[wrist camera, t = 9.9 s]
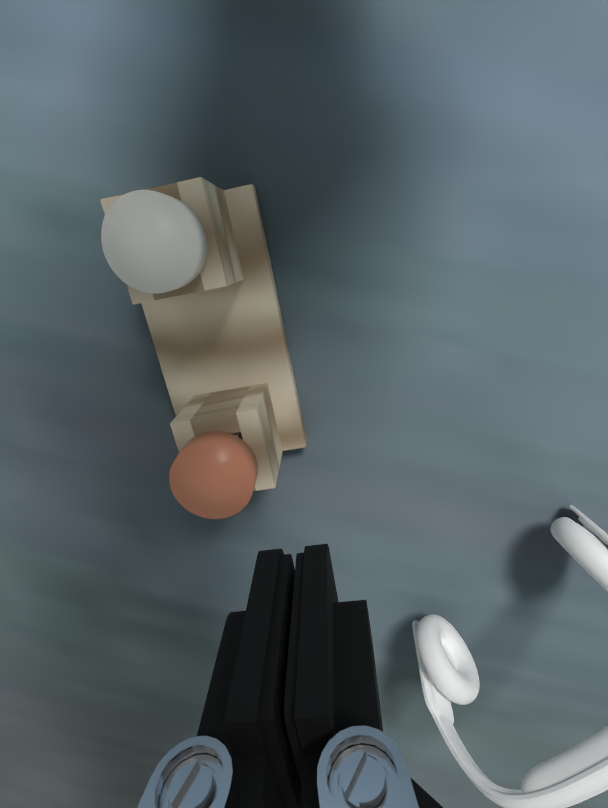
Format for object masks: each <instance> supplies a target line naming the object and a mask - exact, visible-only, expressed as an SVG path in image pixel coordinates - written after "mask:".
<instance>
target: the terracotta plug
mask: <svg viewBox="0 0 608 808" xmlns="http://www.w3.org/2000/svg"><path fill="white" fill-rule="evenodd" d="M257 476H258V463H257V459H256V456H255V454H254V452H253V451H252V449H251V448H250V447H249V446H248V444H247V443H245V442H244V441H243V438H242V434H241V432H237V433H227V432H223V431H208V432H203V433H201V434H198V435H196V436H194V437H193V438H192V439H190V440H189V441H188V442H187V443H186V445H185V446H184V447H183V449H182V450H181V452H180V453H179V455H178V456H177V457H176V459H175V460H174V462H173V464H172V466H171V469H170V473H169V483H170V487H171V490H172V493H173V495H174V497H175V498H176V500H177V501H178V502H179V503H180V504H181V506H183V507H184V508H185V509H186V510H188V511H189V512H191V513H193V514H195V515H197V516H200V517H203V518H208V519H223V518H227V517H230V516H233V515H235V514H237V513H238V512H240V511H241V510H242V509H244V508H245V506H246V505H247V504H248V502H249V501H250V499H251V497H252V493H253V490H254V487H255V483H256V480H257Z"/></svg>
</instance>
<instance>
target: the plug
mask: <svg viewBox="0 0 608 808" xmlns="http://www.w3.org/2000/svg"><path fill="white" fill-rule="evenodd" d="M101 242H102V248H103V252H104V255H105V258H106V260H107V262H108V264H109V266H110V267H111V269H112V270H113V272H114V273H115V274H116V275H117V276H118V277H119V278H120V279H121V280H122V281H123V282H124V283H126V284H127V285H129V286H130V287H132V288H134V289H136V290H139V291H142V292H145V293H152V294H158V293H165V292H168V291H172V290H176V289H179V288H182V287H184V286H186V285H188V284H189V283H191V282H192V281H193V280H194V279H195V278H196V277H197V276H198V275H199V273H200V272H201V270H202V268H203V266H204V263H205V260H206V255H207V239H206V234H205V231H204V228H203V226H202V224H201V222H200V220H199V218H198V217H197V215H196V214H195V213H194V211H193V210H192V209H191V208H190V207H189V206H187V205H186V204H185V203H183V202H182V201H180V200H179V199H176V198H174V197H172V196H169V195H166V194H163V193H160V192H156V191H152V190H136V191H132V192H128V193H126V194H124V195H122V196H121V197H119V198H118V199H117V200H116V201H115V202H114V203H113V204H112V205H111V206H110V207H109V209H108V211H107V213H106V214H105V217H104V220H103V223H102V229H101Z"/></svg>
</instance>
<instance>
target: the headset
mask: <svg viewBox="0 0 608 808" xmlns="http://www.w3.org/2000/svg"><path fill="white" fill-rule="evenodd" d="M569 507H570V508H571V509H572V510H573V511H574V512H575V513H576V514H577V515H578V516H579V518H578V520H579V521H580V522H581V523H582V524H583V525H584V526H585V527H586V528H588V529H589V530H590V531H591V532H592V533H593V534H594V535H595V536H596V537H597V538H596V537H595V536H594V535H592V534H591V533H590V532H588V531H587V530H586V529H584V528H583V527H582V526H580V525H579V524H577V523H575V522H574V521H573V520H571V519H570V518H567V517H561V518H558V519H556V520H555V521H554V522H553V523H552V525H551V528H550V530H551V534H552V535H553V537H554V538H555V539H556V540H557V541H558V543H559V544H560V545H561V546H562V547H563V548H564V549H565V550H566V551H567V552H568V553H569V554H570V555H571V556H572V557H573V558H574V559H575V560H576V561H577V562H578V563H579V564H580V565H581V566H582V567H583V568H584V569H585V570H586V571H587V572H588V573H589V574H590V575H591V576H592V577H593V578H594V579H595V580H596V581H597V582H598V583H599V584H600V585H601V586H602V587H603V588H604V589H606V590H607V591H608V534H607V533H606V532H604V531H603V530H602V529H601V528H600V527H598V526H597V525H596V524H595V523H594V522H592V521H591V520H590V519H589V518H588V517H586V516H585V515H584V514H583V513H582V512H580V511H579V510H578V509H577V508H576V507H574V506H573V505H572V504H571V505H570V506H569ZM412 628H413V635H414V641H415V647H416V653H417V659H418V665H419V671H420V677H421V683H422V689H423V694H424V698H425V702H426V704H427V707H428V709H429V710H430V712H431V714H432V716H433V718H434V720H435V722H436V724H437V726H438V728H439V730H440V732H441V734H442V736H443V738H444V740H445V742H446V744H447V746H448V747H449V749H450V751H451V752H452V754H453V756H454V757H455V759H456V760H457V762H458V763H459V765H460V766H461V767H462V769H463V770H464V772H465V773H466V775H467V776H468V777H469V779H470V780H471V781H472V782H473V784H474V785H475V786H476V787H477V788H478V789H479V790H480V791H481V792H482V793H483V794H484V795H485V796H486V797H488V798H489V799H490V800H492V801H493V802H495V803H496V804H498V805H500V806H502V807H504V808H566V807H569V806H572V805H575V804H577V803H580V802H582V801H584V800H587V799H589V798H591V797H593V796H595V795H597V794H600V793H602V792H604V791H606V790H608V725H607V726H606V727H604V728H603V729H601V730H599V731H598V732H596V733H595V734H593V735H591V736H590V737H588V738H586V739H585V740H583V741H581V742H580V743H578V744H576V745H575V746H573V747H571V748H569V749H567V750H566V751H564V752H562V753H560V754H558V755H556V756H554V757H552V758H550V759H548V760H546V761H544V762H542V763H540V764H538V765H537V766H535V767H533V768H532V769H531V770H529V771H528V772H527V774H526V775H525V776H524V778H523V781H522V785H521V790H512V789H507V788H503V787H501V786H498V785H496V784H494V783H493V782H492V781H490V780H489V779H488V778H487V777H486V776H485V774H484V773H483V772H482V771H481V770H480V769H479V767H478V766H477V765H476V763H475V762H474V761H473V759H472V758H471V756H470V755H469V753H468V751H467V750H466V748H465V747H464V745H463V743H462V741H461V740H460V738H459V736H458V734H457V732H456V730H455V728H454V726H453V723H454V717H453V711H452V706H451V702H450V700H451V701H452V702H454V703H456V704H460V705H467V704H469V703H471V702H472V701H474V700H475V698H476V697H477V695H478V692H479V676H478V672H477V668H476V665H475V662H474V660H473V658H472V655H471V653H470V651H469V649H468V647H467V646H466V644H465V642H464V641H463V639H462V638H461V636H460V635H459V633H458V632H457V631H456V630H455V628H454V627H453V626H452V625H451V624H450V623H449V622H448V621H447V620H445V619H444V618H442V617H441V616H438V615H435V614H430V615H427V616H424V617H423V618H422V619H421V620H420V621H417V620H414V621H413V623H412Z"/></svg>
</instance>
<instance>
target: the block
mask: <svg viewBox="0 0 608 808" xmlns="http://www.w3.org/2000/svg"><path fill="white" fill-rule="evenodd" d="M144 190H152V191H156V192H160V193H163V194H166V195H169V196H172V197H174V198H176V199H179V200H180V201H182V202H183V203H185V204H186V205H187V206H189V207H190V208H191V209H192V210H193V211H194V213H195V214H196V215H197V217H198V218H199V220H200V222H201V224H202V226H203V228H204V231H205V234H206V239H207V255H206V260H205V263H204V266H203V268H202V270H201V272H200V273H199V275H198V276H197V277H196V278H195V279H194V280H193V281H192V282H191V283H189V284H188V285H186V286H184V287H182V288H179V289H176V290H172V291H168V292H165V293H158V294H152V293H145V292H142V291H139V290H136V289H134V288H132V287H130V286H129V285H127V288H128V291H129V294H130V297H131V300H132V304H133V305H134V304H139V303H141V304H142V307H143V310H144V314H145V317H146V320H147V323H148V327H149V330H150V333H151V337H152V340H153V343H154V346H155V350H156V353H157V356H158V359H159V363H160V366H161V369H162V373H163V376H164V379H165V382H166V386H167V389H168V392H169V395H170V399H171V402H172V405H173V409H174V412H175V415H176V417H175V418H174V420H173V421H172V422H171V423H170V425H171V429H172V432H173V435H174V438H175V441H176V445H177V448H178V451H179V453H180V452H181V450H182V449H183V447H184V446H185V445H186V443H187V442H188V441H189V440H190V439H192V438H193V437H194V436H196V435H198V434H201V433H203V432H208V431H223V432H227V433H237V432H241V434H242V438H243V441H244V442H245V443H247V444H248V446H249V447H250V448H251V449H252V451H253V452H254V454H255V456H256V459H257V463H258V476H257V480H256V483H255V487H254V490H253V491H259V490H266V489H272V488H275V487H276V482H277V477H278V472H279V467H280V462H281V457H282V452H283V451H285V450H292V449H298V448H305V447H306V445H307V438H306V433H305V428H304V423H303V418H302V413H301V408H300V403H299V399H298V394H297V389H296V384H295V379H294V374H293V369H292V364H291V359H290V355H289V350H288V345H287V340H286V335H285V330H284V325H283V320H282V315H281V311H280V306H279V301H278V296H277V291H276V286H275V281H274V276H273V272H272V267H271V262H270V257H269V252H268V247H267V242H266V237H265V232H264V228H263V223H262V218H261V213H260V208H259V203H258V198H257V193H256V189H255V186H254V185H253V184H249V185H245V186H240V187H236V188H231V189H227V190H223V189H221V188H219V187H217V186H216V185H214V184H212V183H210V182H209V181H207V180H205V179H203V178H202V177H198V178H194V179H189V180H185V181H180V182H176V183H171V184H167V185H162V186H158V187H153V188H149V189H144ZM122 195H124V194H122ZM122 195H118V196H113V197H109V198H104V199H100V201H101V204H102V207H103V211H104V214H106V213H107V211H108V209H109V207H110V206H111V205H112V204H113V203H114V202H115V201H116V200H117V199H118V198H119V197H121V196H122Z"/></svg>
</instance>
